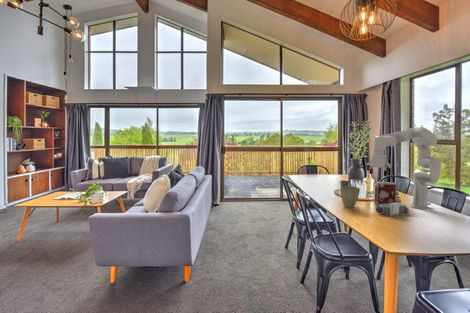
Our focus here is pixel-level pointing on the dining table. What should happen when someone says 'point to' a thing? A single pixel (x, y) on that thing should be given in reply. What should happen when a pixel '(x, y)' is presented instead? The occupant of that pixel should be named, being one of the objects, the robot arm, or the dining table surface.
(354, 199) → the plant pot
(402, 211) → the housing
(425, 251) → the dining table surface
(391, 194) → the dark red boxy piece
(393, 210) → the off-white foam block
